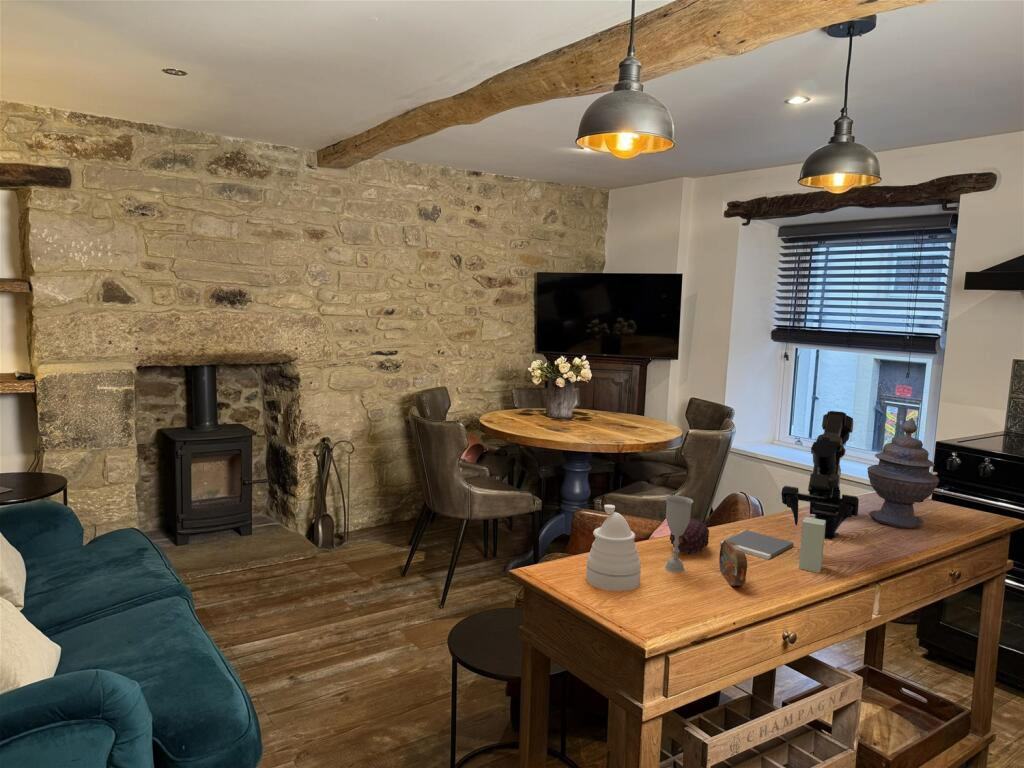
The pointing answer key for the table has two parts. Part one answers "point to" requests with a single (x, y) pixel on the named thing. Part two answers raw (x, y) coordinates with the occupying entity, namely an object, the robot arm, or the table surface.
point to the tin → (733, 563)
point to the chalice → (677, 526)
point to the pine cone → (692, 537)
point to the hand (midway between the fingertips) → (814, 527)
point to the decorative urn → (902, 479)
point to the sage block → (812, 544)
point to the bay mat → (759, 544)
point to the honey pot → (614, 555)
